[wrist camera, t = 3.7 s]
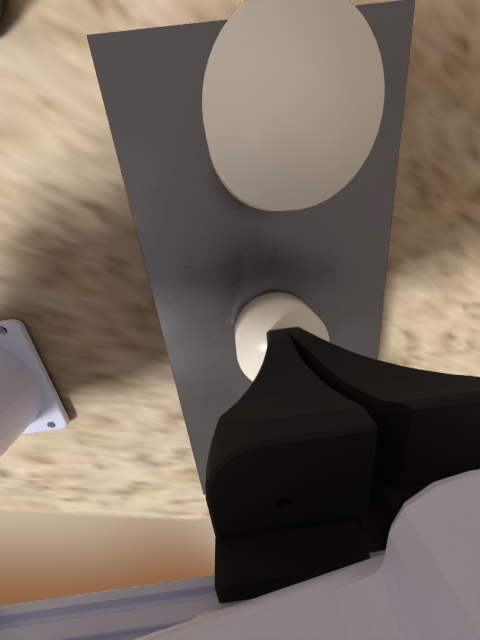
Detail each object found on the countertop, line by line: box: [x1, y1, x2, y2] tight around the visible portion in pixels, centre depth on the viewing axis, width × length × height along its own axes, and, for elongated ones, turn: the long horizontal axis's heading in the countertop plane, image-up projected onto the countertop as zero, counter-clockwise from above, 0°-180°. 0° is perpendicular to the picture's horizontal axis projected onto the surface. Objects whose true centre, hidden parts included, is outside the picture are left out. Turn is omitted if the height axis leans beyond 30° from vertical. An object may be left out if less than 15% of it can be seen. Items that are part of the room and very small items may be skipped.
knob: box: [202, 0, 385, 211], centre depth 8 cm, size 4×4×5 cm
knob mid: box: [235, 292, 329, 381], centre depth 13 cm, size 4×4×5 cm
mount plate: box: [87, 0, 415, 495], centre depth 14 cm, size 11×23×3 cm, turn 7°
